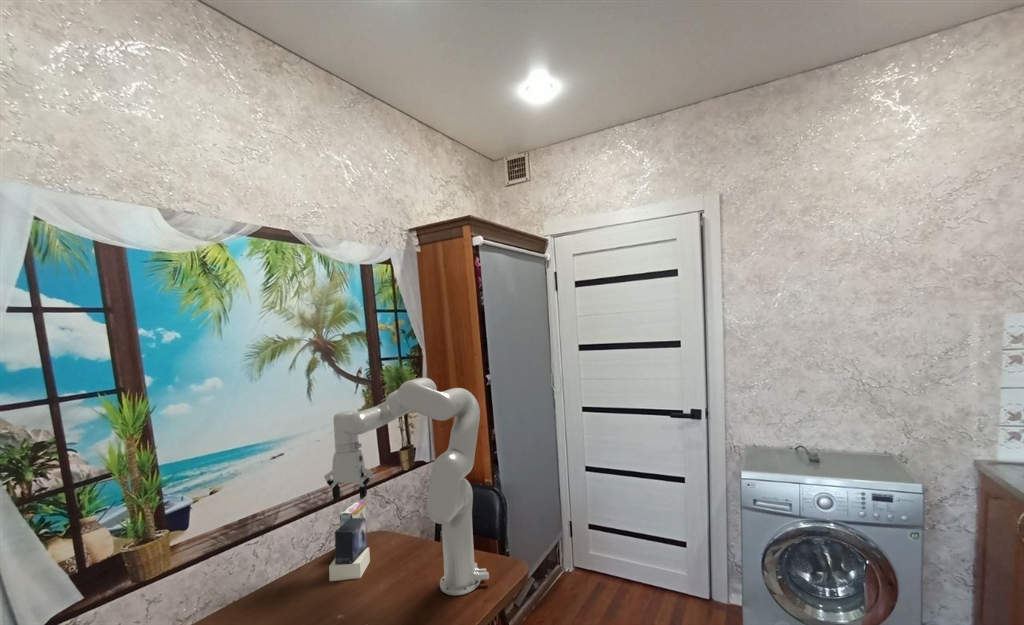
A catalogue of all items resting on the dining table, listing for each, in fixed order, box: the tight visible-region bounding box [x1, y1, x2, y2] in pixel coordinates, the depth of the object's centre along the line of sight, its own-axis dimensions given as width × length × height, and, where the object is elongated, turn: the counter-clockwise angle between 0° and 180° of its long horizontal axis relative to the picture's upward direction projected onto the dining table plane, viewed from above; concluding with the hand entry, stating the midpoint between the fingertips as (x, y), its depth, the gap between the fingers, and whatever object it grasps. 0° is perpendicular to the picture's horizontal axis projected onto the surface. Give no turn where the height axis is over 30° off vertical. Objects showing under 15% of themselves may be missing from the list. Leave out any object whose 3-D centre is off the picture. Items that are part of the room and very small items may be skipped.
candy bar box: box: [339, 501, 368, 547], centre depth 148 cm, size 11×5×16 cm, turn 174°
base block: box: [328, 547, 371, 582], centre depth 135 cm, size 10×10×5 cm
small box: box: [334, 517, 367, 564], centre depth 136 cm, size 11×6×10 cm, turn 176°
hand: (350, 498), depth 137 cm, fingers open, 9 cm apart
